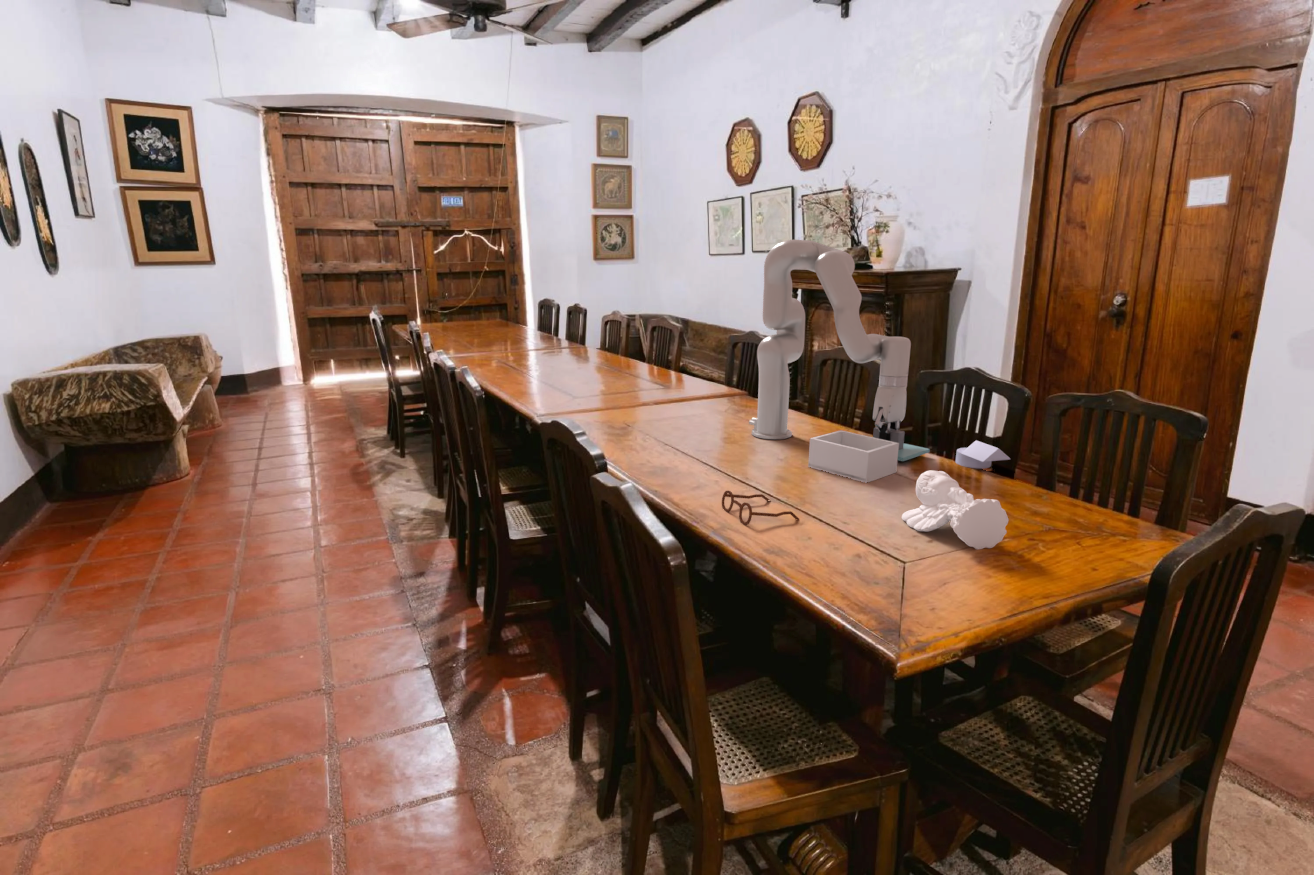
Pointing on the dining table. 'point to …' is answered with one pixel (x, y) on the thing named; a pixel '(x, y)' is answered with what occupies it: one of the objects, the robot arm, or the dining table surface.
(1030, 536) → the dining table surface
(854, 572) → the dining table surface
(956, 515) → the cherub figurine
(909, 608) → the dining table surface
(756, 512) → the glasses
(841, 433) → the tub
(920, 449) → the lid
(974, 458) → the wedge on round base
